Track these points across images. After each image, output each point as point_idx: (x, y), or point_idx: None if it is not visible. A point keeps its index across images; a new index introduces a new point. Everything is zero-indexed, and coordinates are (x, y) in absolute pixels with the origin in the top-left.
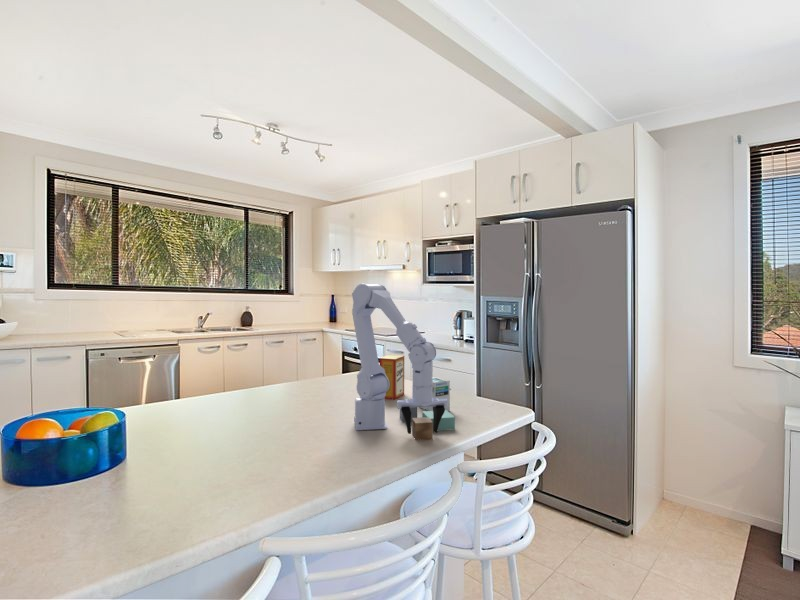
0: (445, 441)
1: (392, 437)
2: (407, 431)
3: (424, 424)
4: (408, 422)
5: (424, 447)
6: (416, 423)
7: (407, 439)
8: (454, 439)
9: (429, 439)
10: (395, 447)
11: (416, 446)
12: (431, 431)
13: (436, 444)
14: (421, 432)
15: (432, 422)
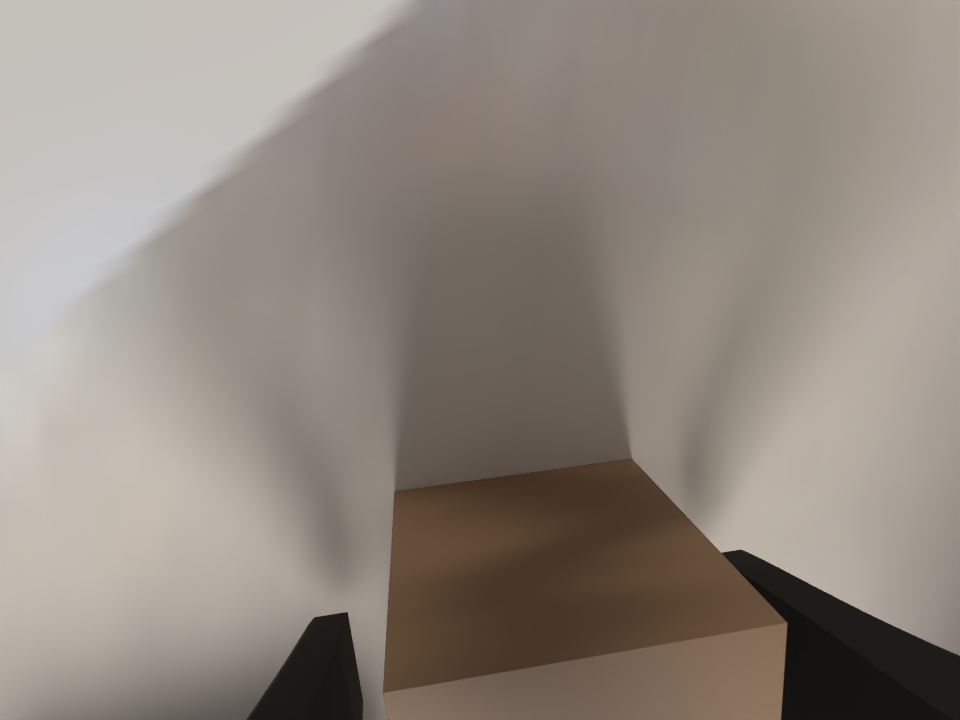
0: (210, 421)
1: (875, 559)
2: None
3: (573, 630)
4: (915, 655)
5: (552, 193)
6: (760, 620)
7: (721, 497)
8: (60, 499)
9: (441, 487)
10: (925, 221)
11: (656, 241)
12: (414, 555)
13: (360, 305)
14: (584, 526)
15: (391, 688)
